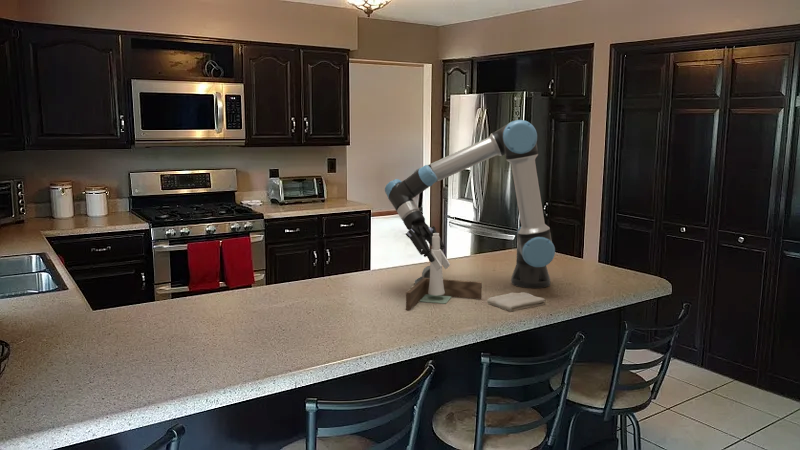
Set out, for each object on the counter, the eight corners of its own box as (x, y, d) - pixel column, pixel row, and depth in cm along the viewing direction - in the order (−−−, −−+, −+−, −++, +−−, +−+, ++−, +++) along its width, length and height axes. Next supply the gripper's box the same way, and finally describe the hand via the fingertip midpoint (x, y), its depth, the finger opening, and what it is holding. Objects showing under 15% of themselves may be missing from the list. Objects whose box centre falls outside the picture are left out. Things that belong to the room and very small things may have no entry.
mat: (451, 297, 223) (451, 296, 223) (445, 304, 214) (445, 303, 214) (426, 294, 226) (426, 294, 226) (419, 301, 217) (419, 300, 217)
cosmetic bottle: (432, 296, 216) (432, 235, 213) (425, 292, 222) (424, 232, 218) (447, 294, 219) (447, 234, 215) (439, 290, 224) (439, 231, 220)
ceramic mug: (439, 281, 246) (439, 263, 245) (442, 286, 238) (442, 267, 237) (413, 282, 245) (413, 264, 244) (415, 287, 237) (415, 268, 236)
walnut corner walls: (481, 298, 222) (482, 282, 221) (470, 315, 201) (470, 297, 200) (423, 293, 228) (423, 277, 228) (405, 309, 207) (406, 292, 206)
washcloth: (547, 305, 215) (547, 296, 214) (510, 313, 205) (510, 304, 205) (523, 297, 225) (523, 289, 224) (486, 305, 215) (486, 296, 214)
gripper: (422, 220, 233) (453, 270, 224) (389, 224, 222) (421, 277, 212) (432, 207, 228) (465, 258, 219) (399, 211, 217) (432, 264, 208)
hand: (443, 267), depth 216 cm, fingers closed on cosmetic bottle, 4 cm apart
